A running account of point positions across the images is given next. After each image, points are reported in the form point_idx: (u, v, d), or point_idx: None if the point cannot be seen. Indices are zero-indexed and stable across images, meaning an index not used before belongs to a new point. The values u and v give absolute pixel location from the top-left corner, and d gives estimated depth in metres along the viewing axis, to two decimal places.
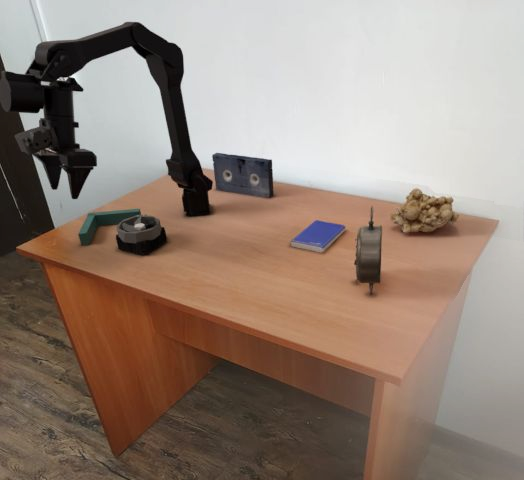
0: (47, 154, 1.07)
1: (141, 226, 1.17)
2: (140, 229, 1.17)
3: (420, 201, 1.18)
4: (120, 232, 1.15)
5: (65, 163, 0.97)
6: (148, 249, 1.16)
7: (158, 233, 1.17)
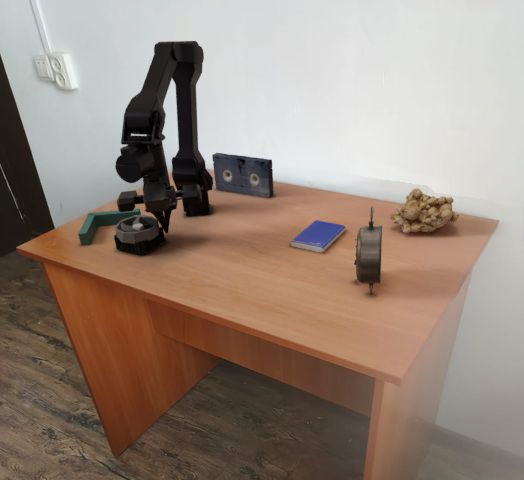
0: None
1: (139, 226, 1.17)
2: (138, 229, 1.17)
3: (420, 201, 1.18)
4: (118, 232, 1.15)
5: (194, 202, 1.12)
6: (146, 249, 1.16)
7: (156, 233, 1.17)
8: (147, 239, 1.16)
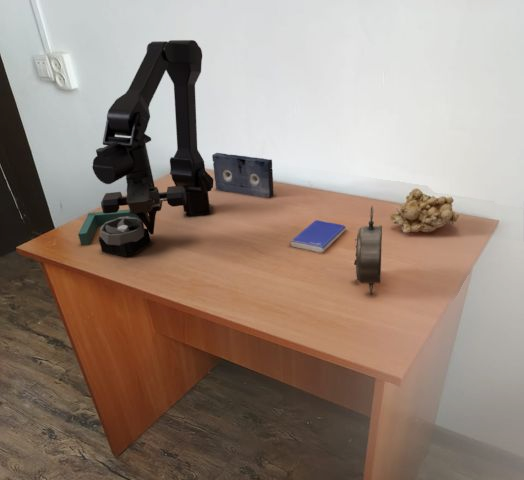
0: None
1: (124, 228, 1.17)
2: (123, 231, 1.17)
3: (420, 201, 1.18)
4: (103, 234, 1.15)
5: (178, 204, 1.12)
6: (132, 251, 1.16)
7: (142, 234, 1.17)
8: (133, 241, 1.15)
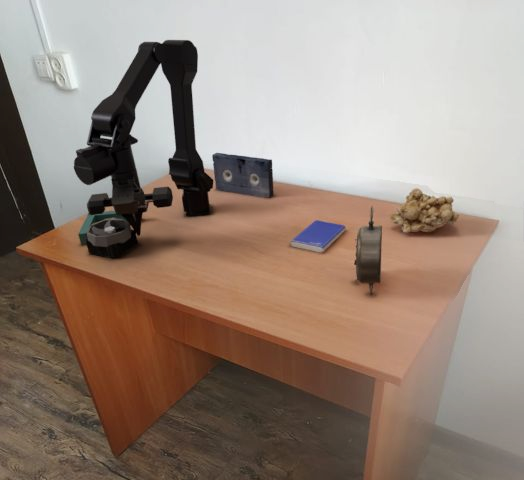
0: None
1: (111, 229, 1.17)
2: (110, 232, 1.17)
3: (420, 201, 1.18)
4: (90, 236, 1.14)
5: (164, 205, 1.12)
6: (120, 252, 1.16)
7: (129, 236, 1.17)
8: (120, 242, 1.15)
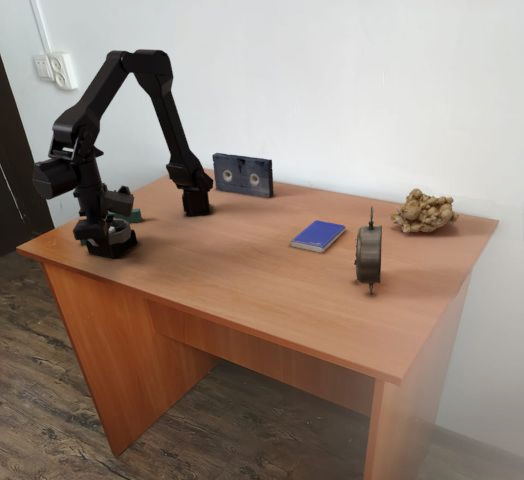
0: None
1: (111, 229, 1.17)
2: (110, 232, 1.17)
3: (420, 201, 1.18)
4: None
5: None
6: (119, 252, 1.16)
7: (128, 236, 1.17)
8: (119, 242, 1.15)
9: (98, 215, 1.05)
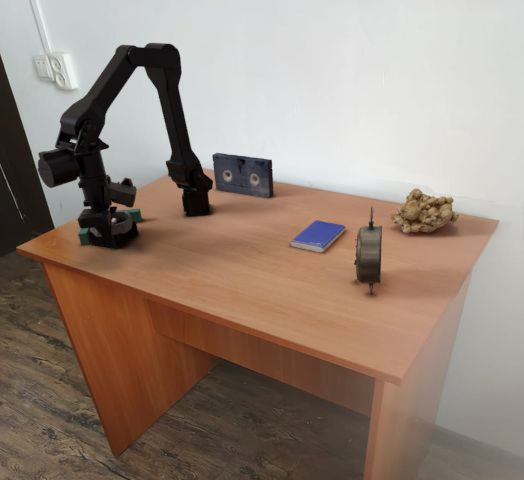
0: None
1: (113, 220, 1.21)
2: (112, 223, 1.21)
3: (420, 201, 1.18)
4: None
5: None
6: (121, 242, 1.20)
7: (130, 226, 1.21)
8: (121, 232, 1.19)
9: (102, 205, 1.10)
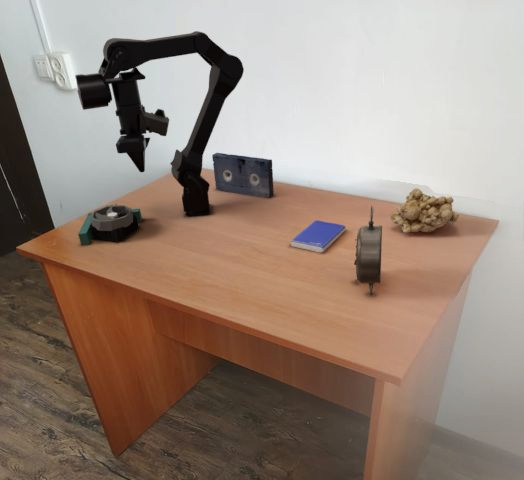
0: None
1: (114, 215, 1.24)
2: (113, 218, 1.23)
3: (420, 201, 1.18)
4: (95, 221, 1.21)
5: None
6: (123, 236, 1.23)
7: (131, 220, 1.24)
8: (123, 226, 1.22)
9: (137, 133, 1.16)
